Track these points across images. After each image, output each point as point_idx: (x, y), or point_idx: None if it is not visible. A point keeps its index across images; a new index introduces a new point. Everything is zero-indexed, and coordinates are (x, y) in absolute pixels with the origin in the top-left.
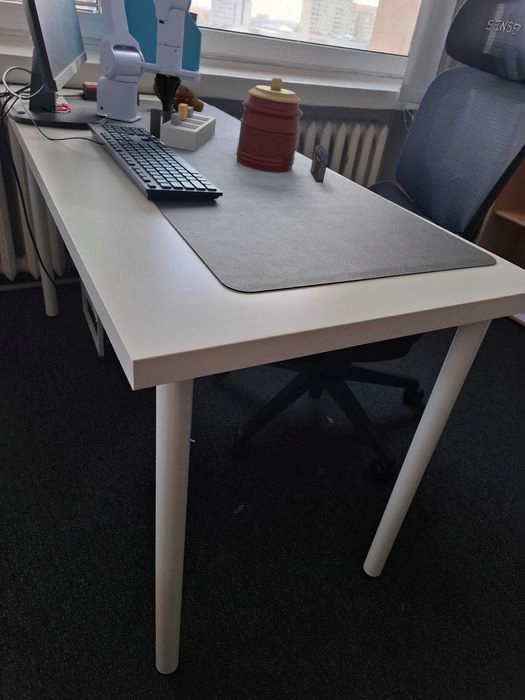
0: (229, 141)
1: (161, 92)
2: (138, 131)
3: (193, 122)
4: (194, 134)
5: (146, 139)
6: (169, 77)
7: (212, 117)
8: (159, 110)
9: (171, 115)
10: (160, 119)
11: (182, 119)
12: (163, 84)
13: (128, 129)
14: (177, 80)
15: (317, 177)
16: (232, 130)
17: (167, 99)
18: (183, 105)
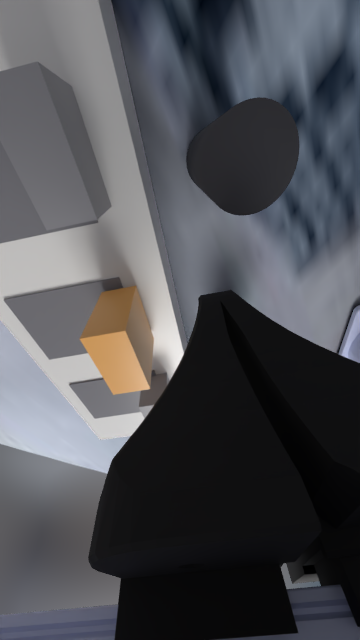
0: (31, 369)
1: (286, 345)
2: (308, 201)
3: (57, 306)
4: None
5: (224, 35)
6: (276, 588)
7: (108, 435)
8: (214, 161)
9: (36, 66)
10: (195, 166)
11: (108, 291)
12: (306, 410)
13: (357, 192)
14: (103, 572)
15: None
16: (116, 447)
17: (213, 327)
18: (100, 349)
